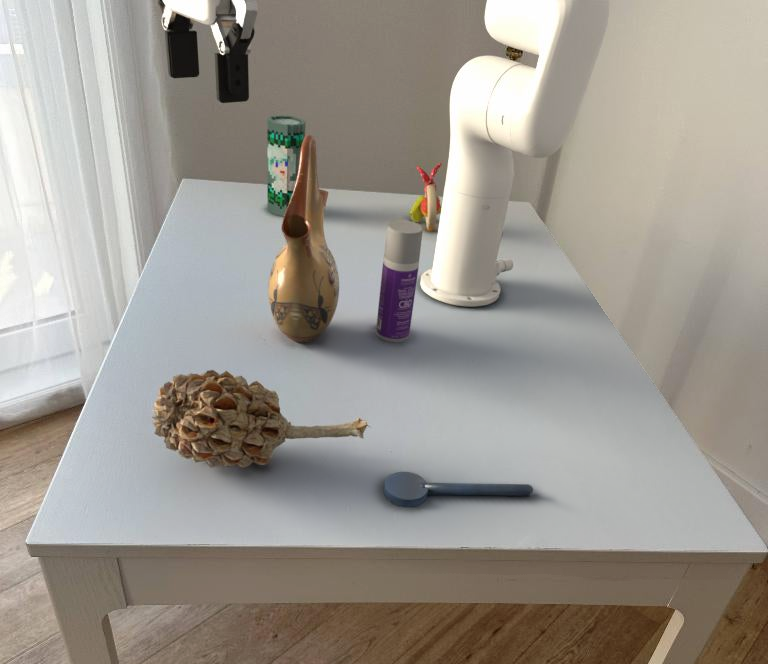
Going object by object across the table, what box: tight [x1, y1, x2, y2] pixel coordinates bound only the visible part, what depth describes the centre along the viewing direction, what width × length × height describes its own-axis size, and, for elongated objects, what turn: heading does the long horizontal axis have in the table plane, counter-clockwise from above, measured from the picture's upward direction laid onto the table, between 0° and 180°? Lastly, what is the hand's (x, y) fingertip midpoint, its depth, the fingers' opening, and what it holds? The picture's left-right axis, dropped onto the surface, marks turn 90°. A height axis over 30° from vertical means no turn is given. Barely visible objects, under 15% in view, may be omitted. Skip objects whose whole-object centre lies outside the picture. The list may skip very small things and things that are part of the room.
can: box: [266, 114, 306, 217], centre depth 129 cm, size 6×6×15 cm
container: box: [375, 219, 424, 343], centre depth 97 cm, size 5×5×15 cm
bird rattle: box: [408, 162, 443, 232], centre depth 132 cm, size 6×11×9 cm
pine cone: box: [151, 369, 371, 468], centre depth 75 cm, size 22×10×10 cm, turn 98°
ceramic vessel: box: [268, 134, 340, 343], centre depth 91 cm, size 16×9×25 cm, turn 175°
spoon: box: [383, 471, 534, 508], centre depth 77 cm, size 16×5×1 cm, turn 96°
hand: (207, 88), depth 73 cm, fingers open, 9 cm apart
